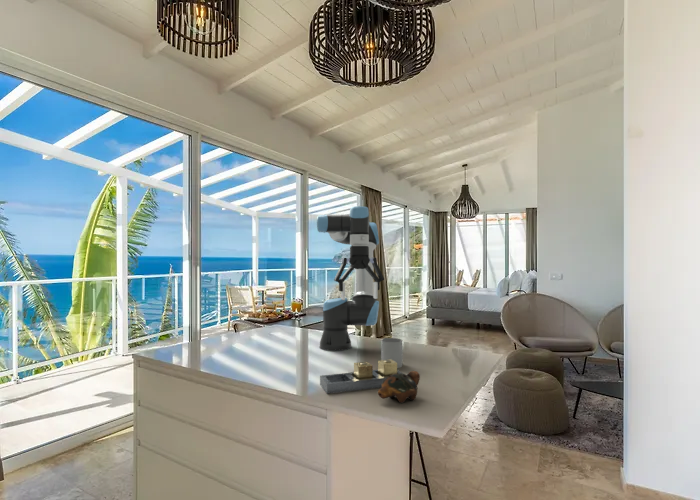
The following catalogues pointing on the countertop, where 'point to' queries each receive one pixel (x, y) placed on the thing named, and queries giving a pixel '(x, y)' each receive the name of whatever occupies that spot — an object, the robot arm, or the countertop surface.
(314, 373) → the countertop surface
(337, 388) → the rack
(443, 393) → the countertop surface
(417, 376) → the decorative turtle
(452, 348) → the countertop surface
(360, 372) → the cube with silver knob
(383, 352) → the cup
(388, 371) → the beige framed knobbed block
